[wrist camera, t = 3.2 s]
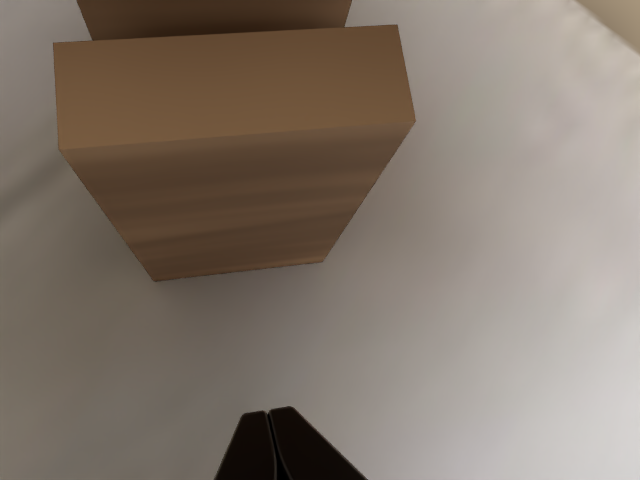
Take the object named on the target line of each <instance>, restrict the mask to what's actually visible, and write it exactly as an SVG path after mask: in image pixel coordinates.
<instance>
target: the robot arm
mask: <svg viewBox="0 0 640 480" xmlns="http://www.w3.org/2000/svg"><path fill="white" fill-rule="evenodd" d="M214 480H368V479H367V478H366V477H365V476H364V475H363V474H362V473H361V472H360V471H358V470H357V469H356V468H355V467H354V466H353V465H352V464H351V463H350V462H349V461H348V460H347V459H346V458H345V457H344V456H343V455H342V454H341V453H340V452H339V451H338V450H337V449H336V448H335V447H334V446H333V445H332V444H331V443H330V442H329V441H328V440H327V439H326V438H324V437H323V436H322V435H321V434H320V433H319V432H318V431H317V430H316V429H315V428H314V427H313V426H312V425H311V424H310V423H309V422H308V421H307V420H306V419H305V418H304V417H303V416H302V415H301V414H300V413H299V412H298V411H297V410H296V409H295V408H293V407H291V406H288V407H282V408H275V409H271V410H269V412H268V414H267V412H266V411H263V410H262V411H256V412H250V413H244V414H243V415H242V416H241V418H240V420H239V422H238V424H237V427H236V429H235V431H234V434H233V436H232V438H231V441H230V443H229V445H228V447H227V450H226V452H225V454H224V457H223V459H222V461H221V464H220V466H219V468H218V471H217V473H216V475H215V478H214Z"/></svg>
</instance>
